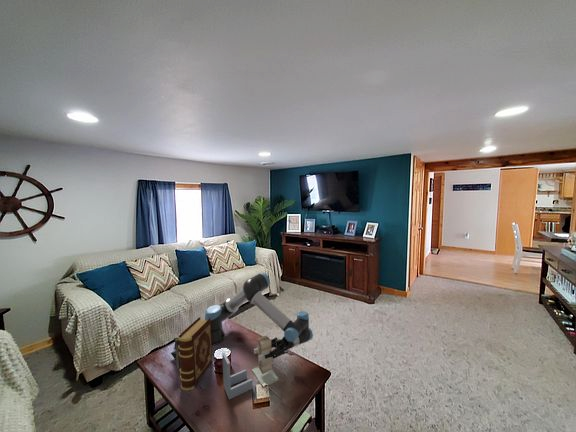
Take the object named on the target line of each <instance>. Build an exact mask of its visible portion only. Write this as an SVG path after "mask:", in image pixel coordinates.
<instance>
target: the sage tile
mask: <svg viewBox="0 0 576 432" xmlns="http://www.w3.org/2000/svg"><path fill="white" fill-rule="evenodd" d="M251 372H252V373H253V375H254V376H255V378H256V380H257V381H258V382H259V384H260V385H261V384H263V383H266V384H268V386H270V385H272V384H274V383H276V382H278V381H279V380H280V379H279V377H278V376H277V374H276V373H275V372H274V370H273V369H272V370H270V371H268V372H266V373H264V374H262V372H261V371H260V369H259V368H258V366H257V367H254V368H252V369H251Z"/></svg>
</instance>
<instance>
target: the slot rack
mask: <svg viewBox="0 0 576 432" xmlns="http://www.w3.org/2000/svg"><path fill="white" fill-rule="evenodd" d="M221 354H222V357H221V358H222V376H223V377H222V378H223V380H222V381H223V389H224V391H225V394H226V396H227V398H228V400H231V399H233V398H236V397H238V396H240V395H242V394H244V393H246V392H249V391H250V390H253V379H252V378H250V379H247V378H248V372H247V369H243V370H240V371H239V372H236V373H234V374H231V362H230V360H229V359H228V357H227V355H226V353H225V352H222V353H221ZM246 379H247V380H246ZM244 380H245V381H244ZM242 381H243V382H242ZM237 383H238V384H237ZM235 384H236V385H235Z"/></svg>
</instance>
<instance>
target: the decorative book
mask: <svg viewBox="0 0 576 432" xmlns="http://www.w3.org/2000/svg"><path fill="white" fill-rule="evenodd" d="M177 338H178V340H179V346H178V348H179V350H180V352H179V356H180V367H181V368H180V369H179V372H180V376H179V379H180V382H181V384H180V388H181V390H183V391H187V392H188V391H192V390H194V389H195V387H196V386H197V385H198V383H199V381H200V380H201V379H202V377H204V375H205V374H206V372H207V370H208V369H209V368H210V366H212V363H213V348H212V347H213V345H212V340H211V321H210V318H209V319H208V320H205V319H201V316H200V317H198V318H197V319H195V320H194V321H193V322H192V323H191V324H190V325H189V326H188V327H187V328H185V330H183V332H181V333H180V334H179V335H177Z"/></svg>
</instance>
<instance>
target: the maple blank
mask: <svg viewBox="0 0 576 432" xmlns="http://www.w3.org/2000/svg"><path fill="white" fill-rule="evenodd" d="M271 340H272V339H271V338H270V337H269V336H268V335H263V336H262V337H259V338H257V348H258V353H257V363H258V364H257V367H258V368H259V369H260V371H261V372H262V374H264V373H266V372H268V371H270V370H272V371H273V363H272V362H273V360H272V359H273V358H272V357H269V358H267V359H263V360H261V361H259V355H262V354H264V353H267V352H271V351H273V349H272V348H271Z"/></svg>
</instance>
